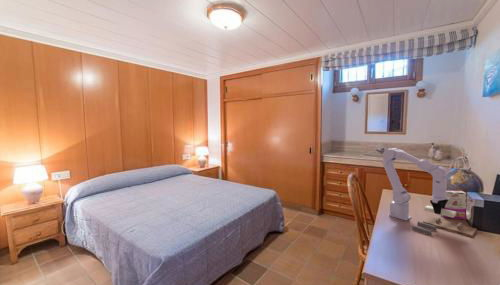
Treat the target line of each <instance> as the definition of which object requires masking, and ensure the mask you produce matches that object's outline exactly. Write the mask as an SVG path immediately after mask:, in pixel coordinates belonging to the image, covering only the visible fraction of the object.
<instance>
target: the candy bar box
mask: <svg viewBox="0 0 500 285" xmlns="http://www.w3.org/2000/svg"><path fill="white" fill-rule="evenodd" d="M467 195H468V194H467V193H466V192H465V191H463V190H448V189H447V192H446V197H447V198H449V200H448V202H447V203H446V205H445V209H447V210H451V211H456V216H454V217H448V216H444V215H440V216H441V217H442V218H444V219H453V220H456V219H457V220H466V207H467V205H468V204H467V203H468V202H467V201H468V198H467V197H468V196H467ZM467 208H468V207H467Z"/></svg>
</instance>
